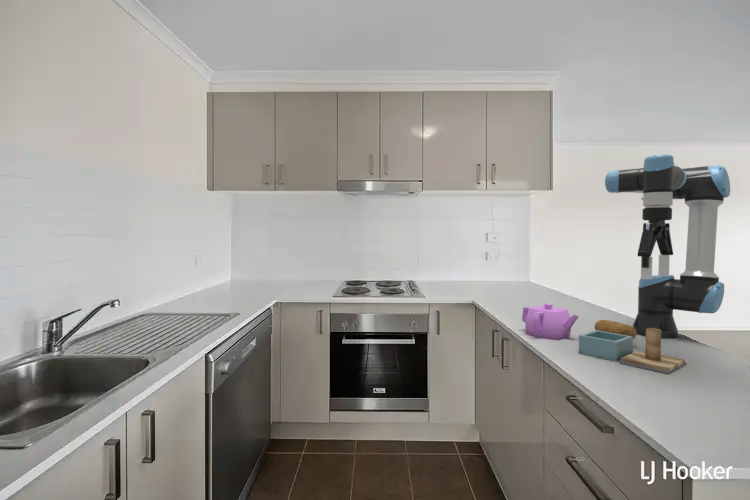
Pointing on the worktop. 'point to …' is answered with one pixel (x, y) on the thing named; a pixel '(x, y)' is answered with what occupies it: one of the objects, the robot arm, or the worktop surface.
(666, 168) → the robot arm
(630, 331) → the potato
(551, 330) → the teakettle
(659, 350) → the lid
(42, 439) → the worktop surface
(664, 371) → the mat
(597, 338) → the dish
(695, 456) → the worktop surface
